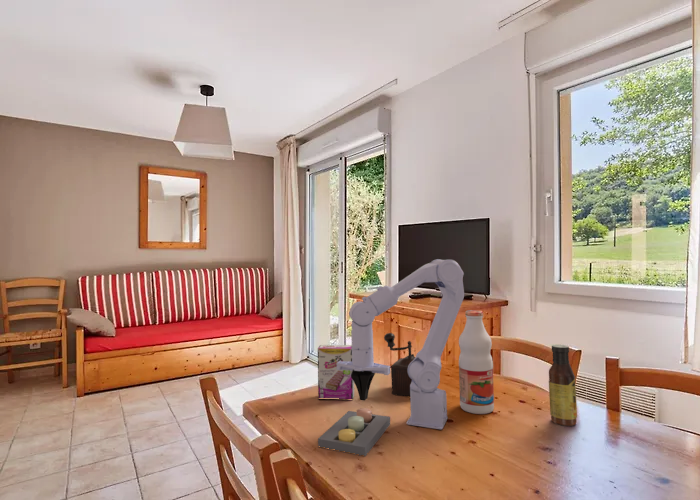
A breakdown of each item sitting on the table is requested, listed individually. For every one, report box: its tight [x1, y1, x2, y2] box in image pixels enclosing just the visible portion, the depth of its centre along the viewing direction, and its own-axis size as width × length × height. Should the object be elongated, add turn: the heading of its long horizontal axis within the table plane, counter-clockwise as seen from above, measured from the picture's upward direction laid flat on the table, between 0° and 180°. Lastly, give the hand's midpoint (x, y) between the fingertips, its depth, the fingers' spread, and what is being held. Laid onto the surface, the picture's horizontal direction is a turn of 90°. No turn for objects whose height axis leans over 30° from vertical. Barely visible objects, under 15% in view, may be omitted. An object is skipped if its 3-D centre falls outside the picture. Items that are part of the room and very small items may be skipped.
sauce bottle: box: [548, 344, 578, 427], centre depth 105 cm, size 7×6×20 cm
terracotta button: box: [356, 407, 373, 423], centre depth 106 cm, size 4×4×2 cm
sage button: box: [348, 416, 364, 433], centre depth 101 cm, size 4×4×2 cm
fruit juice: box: [458, 309, 495, 415], centre depth 116 cm, size 9×9×28 cm
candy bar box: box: [317, 344, 355, 400], centre depth 127 cm, size 11×5×16 cm, turn 84°
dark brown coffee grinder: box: [383, 332, 416, 398], centre depth 133 cm, size 16×11×18 cm
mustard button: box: [339, 429, 355, 443], centre depth 95 cm, size 4×4×2 cm
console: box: [317, 410, 391, 457], centre depth 101 cm, size 12×18×2 cm, turn 156°
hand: (363, 399), depth 106 cm, fingers closed
